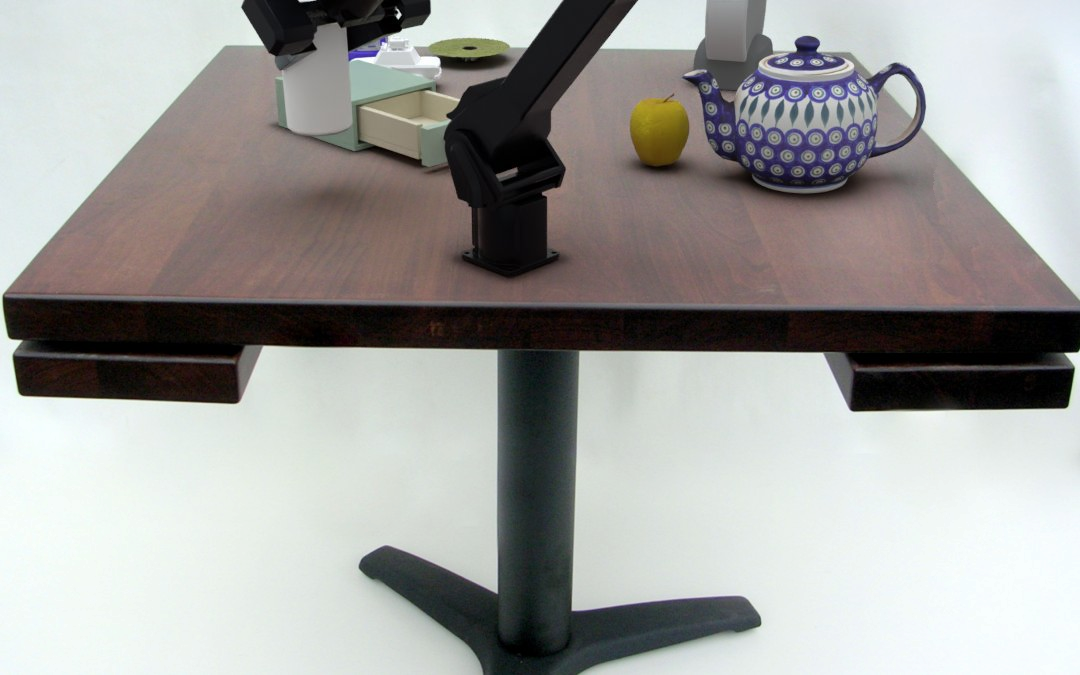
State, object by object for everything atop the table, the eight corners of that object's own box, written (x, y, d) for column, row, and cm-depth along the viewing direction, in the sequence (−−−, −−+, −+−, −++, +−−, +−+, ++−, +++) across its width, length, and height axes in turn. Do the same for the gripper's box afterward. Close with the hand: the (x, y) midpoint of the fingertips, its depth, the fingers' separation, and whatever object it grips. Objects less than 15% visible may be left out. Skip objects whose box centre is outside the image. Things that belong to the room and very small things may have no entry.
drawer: (534, 154, 148) (534, 117, 146) (459, 177, 141) (458, 139, 139) (425, 120, 159) (423, 86, 157) (350, 140, 152) (348, 104, 150)
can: (282, 138, 133) (271, 13, 128) (292, 119, 139) (281, 0, 134) (349, 137, 133) (340, 12, 128) (356, 118, 139) (348, -1, 134)
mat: (461, 75, 181) (461, 60, 180) (412, 59, 189) (411, 45, 188) (526, 61, 188) (526, 47, 187) (476, 46, 195) (476, 33, 195)
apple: (697, 171, 145) (701, 97, 142) (640, 176, 143) (643, 102, 140) (675, 153, 151) (678, 82, 147) (620, 158, 149) (622, 86, 146)
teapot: (904, 157, 149) (920, 21, 143) (932, 204, 136) (952, 56, 129) (674, 153, 150) (680, 18, 144) (680, 199, 137) (687, 52, 131)
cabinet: (437, 128, 159) (435, 80, 157) (354, 151, 151) (351, 101, 149) (360, 105, 168) (358, 59, 166) (278, 125, 160) (274, 77, 158)
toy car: (350, 83, 178) (347, 30, 175) (443, 82, 178) (441, 30, 175) (345, 95, 172) (342, 41, 169) (440, 94, 172) (439, 41, 169)
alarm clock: (707, 60, 188) (714, -77, 181) (781, 65, 186) (792, -74, 178) (681, 89, 175) (687, -58, 167) (760, 96, 172) (771, -53, 164)
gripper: (405, -125, 130) (339, -20, 141) (242, -105, 117) (185, 8, 129) (466, -30, 128) (394, 68, 140) (307, 0, 116) (243, 105, 127)
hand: (306, 60), depth 134 cm, fingers closed on can, 6 cm apart
